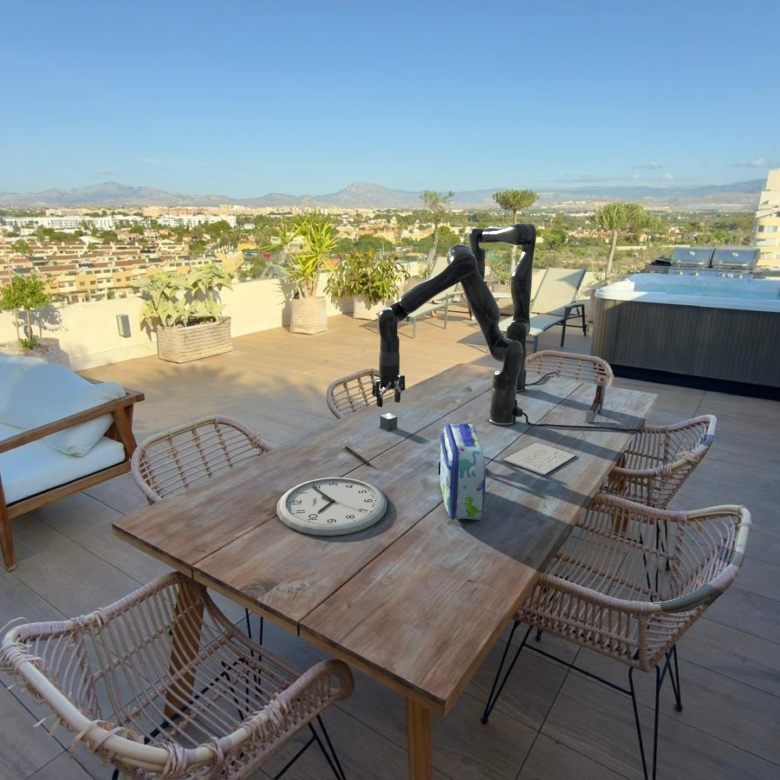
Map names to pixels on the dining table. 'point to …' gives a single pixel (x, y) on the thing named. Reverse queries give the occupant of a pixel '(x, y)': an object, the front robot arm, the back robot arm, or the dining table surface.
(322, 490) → the wall clock
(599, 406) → the toy gun
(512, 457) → the invitation card
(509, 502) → the dining table surface
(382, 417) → the block
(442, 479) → the lunch box
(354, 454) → the brown thin stick
